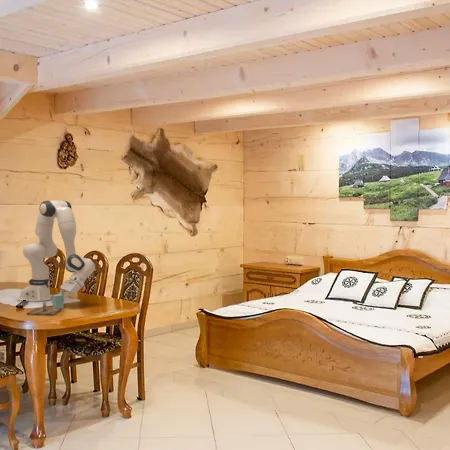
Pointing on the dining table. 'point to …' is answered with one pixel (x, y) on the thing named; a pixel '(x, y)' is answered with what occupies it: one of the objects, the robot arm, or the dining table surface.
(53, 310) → the board
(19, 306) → the dining table surface
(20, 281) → the dining table surface
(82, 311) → the dining table surface
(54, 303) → the teal rounded block
